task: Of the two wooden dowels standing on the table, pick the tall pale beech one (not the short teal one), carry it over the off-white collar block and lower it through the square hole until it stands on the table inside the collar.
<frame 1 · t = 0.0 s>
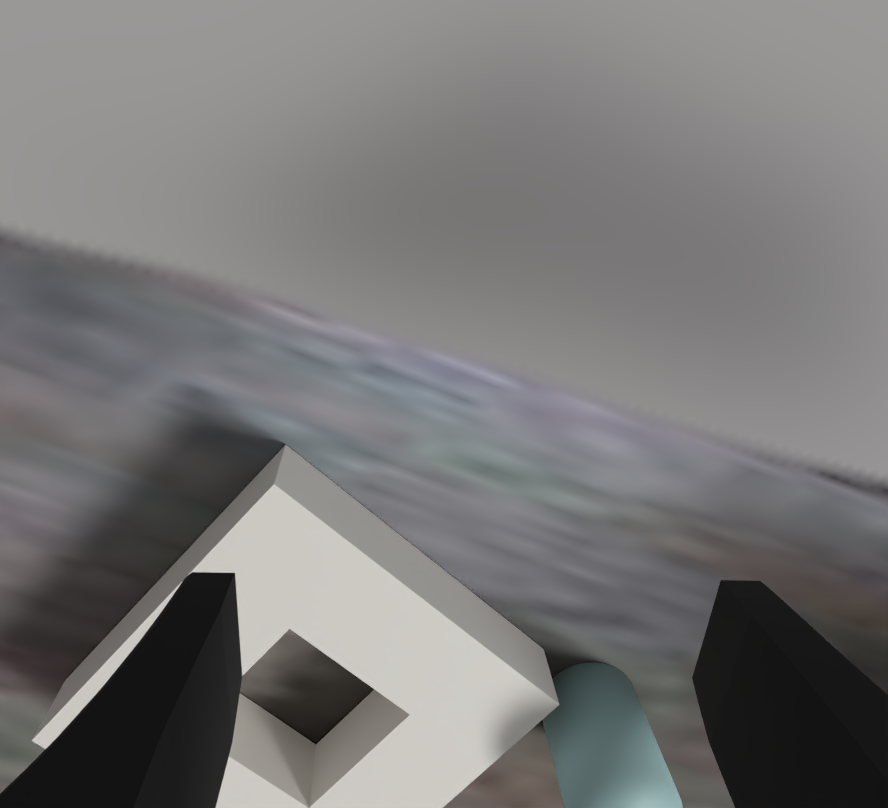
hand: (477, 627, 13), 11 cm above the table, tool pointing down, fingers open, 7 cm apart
collar block: (307, 664, 25), on the table
short teal pin: (587, 702, 26), on the table
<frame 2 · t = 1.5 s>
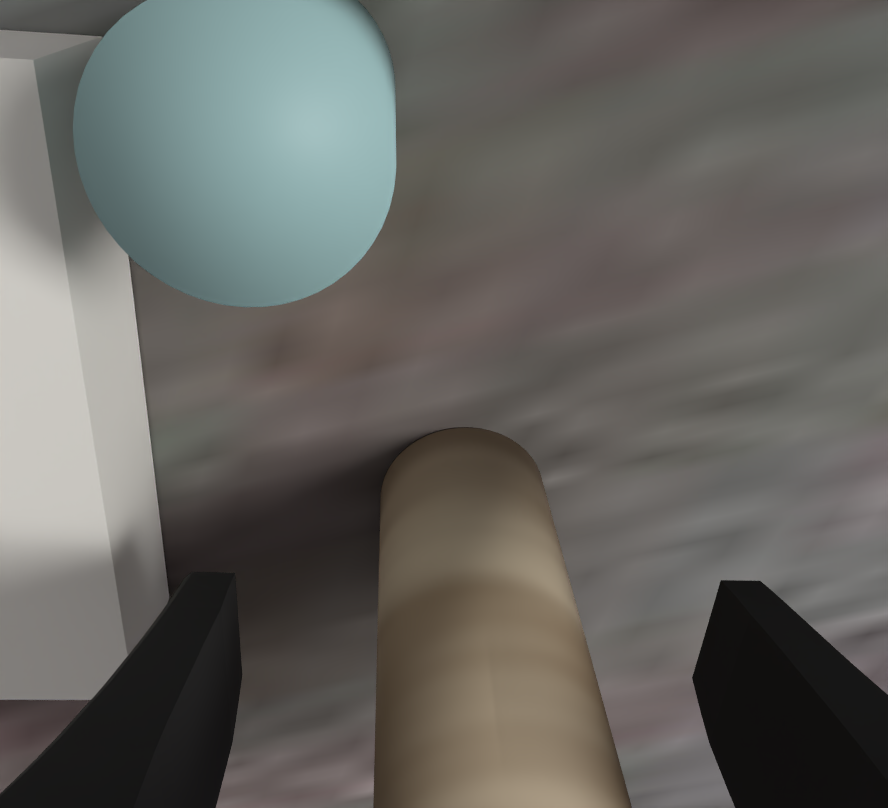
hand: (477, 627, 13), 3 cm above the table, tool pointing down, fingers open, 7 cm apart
short teal pin: (289, 86, 12), on the table
long beech pin: (462, 497, 15), on the table
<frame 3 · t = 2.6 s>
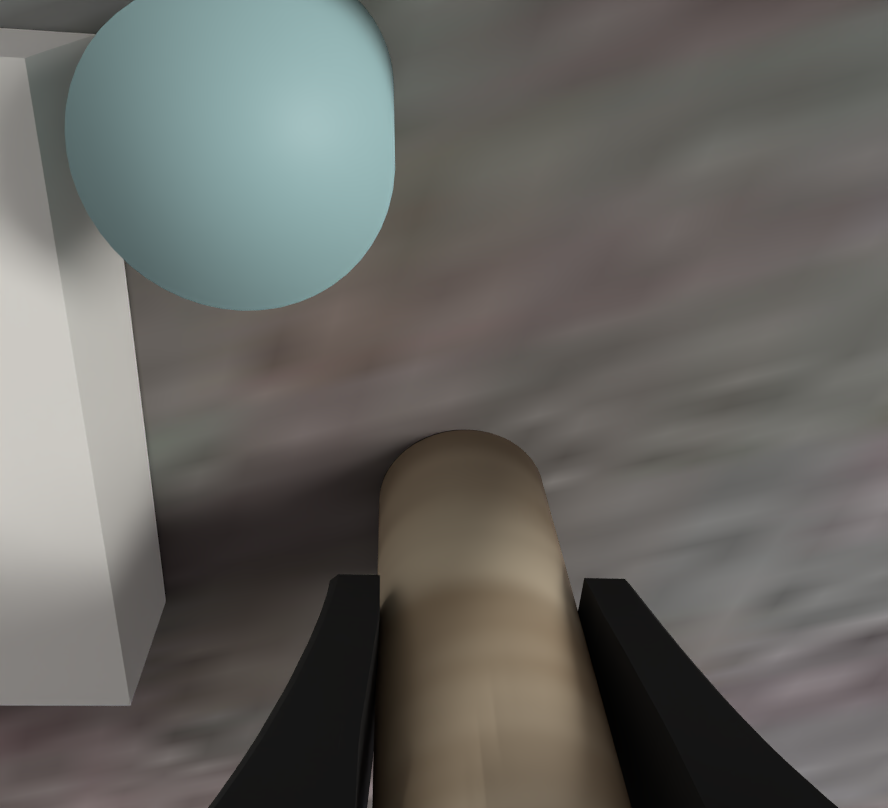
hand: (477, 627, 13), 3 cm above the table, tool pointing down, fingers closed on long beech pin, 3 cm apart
short teal pin: (286, 84, 12), on the table
long beech pin: (461, 500, 15), on the table, touching gripper
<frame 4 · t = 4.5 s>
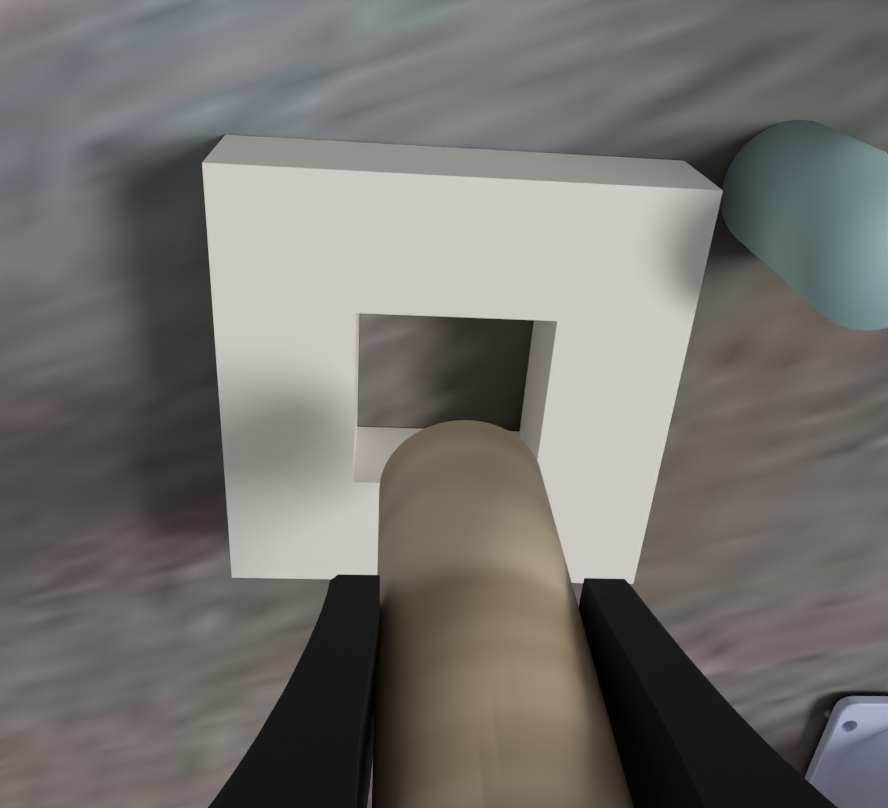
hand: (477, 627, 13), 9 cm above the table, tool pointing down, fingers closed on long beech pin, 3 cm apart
collar block: (444, 355, 21), on the table
short teal pin: (786, 188, 19), on the table
long beech pin: (461, 490, 15), point 6 cm above the table, touching gripper
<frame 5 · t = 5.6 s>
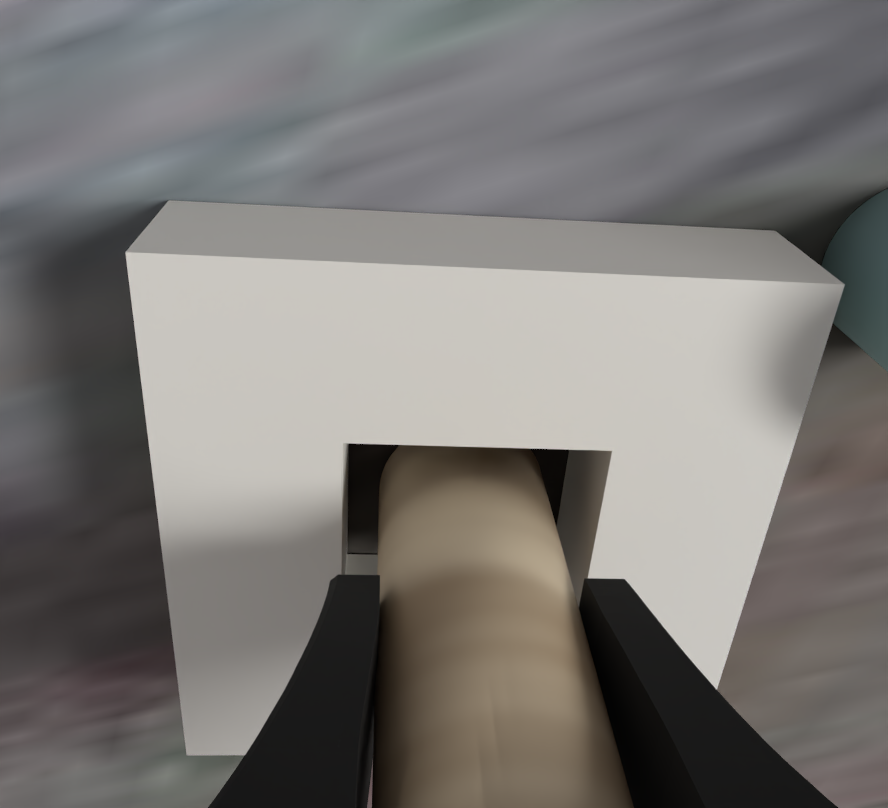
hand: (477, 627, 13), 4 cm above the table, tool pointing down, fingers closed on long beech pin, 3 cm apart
collar block: (457, 470, 16), on the table
long beech pin: (461, 490, 15), point 1 cm above the table, touching gripper
when the fingers open (4 cm above the table, at t = 6.3 s): long beech pin stays where it is, resting in collar block.
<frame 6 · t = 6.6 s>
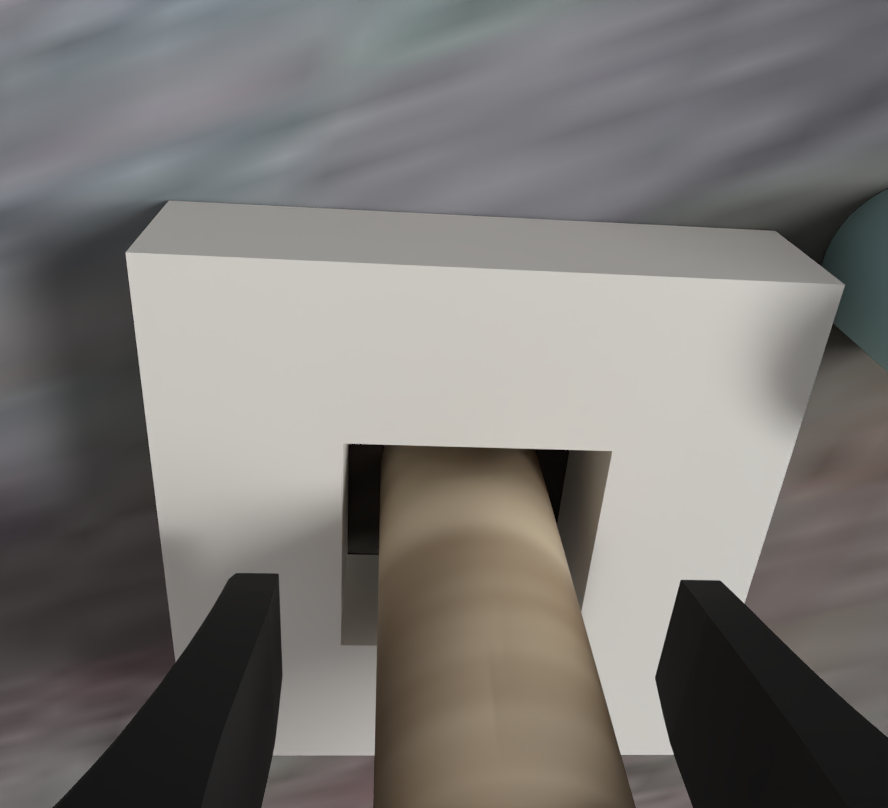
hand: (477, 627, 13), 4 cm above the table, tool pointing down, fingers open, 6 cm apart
collar block: (458, 470, 16), on the table
long beech pin: (459, 465, 16), resting in collar block
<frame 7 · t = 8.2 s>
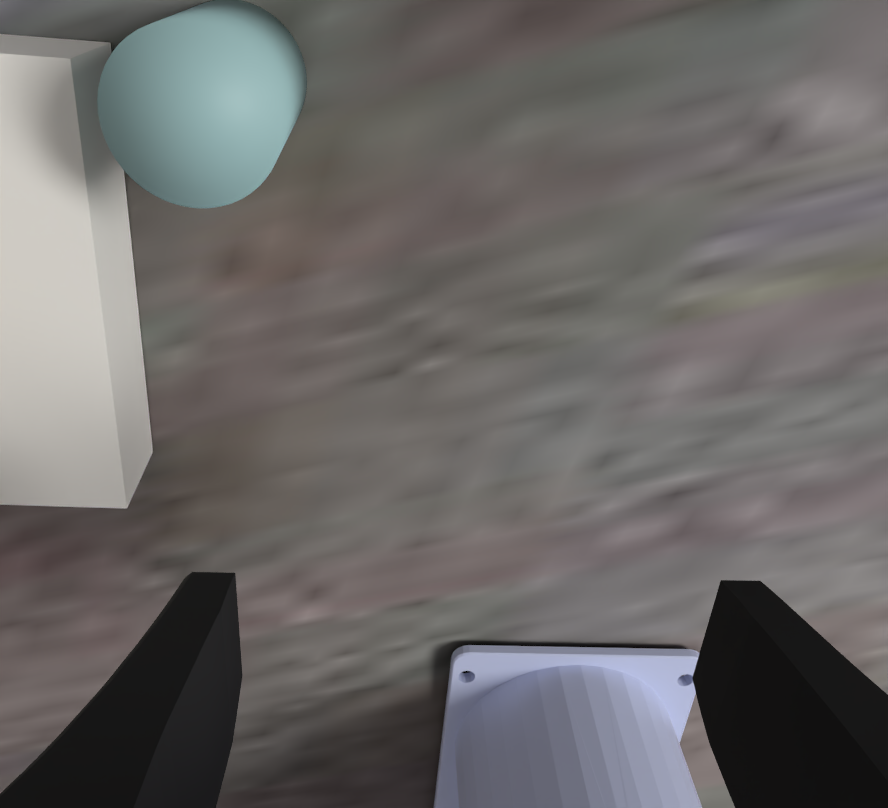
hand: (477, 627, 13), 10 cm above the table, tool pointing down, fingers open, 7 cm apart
short teal pin: (235, 77, 18), on the table
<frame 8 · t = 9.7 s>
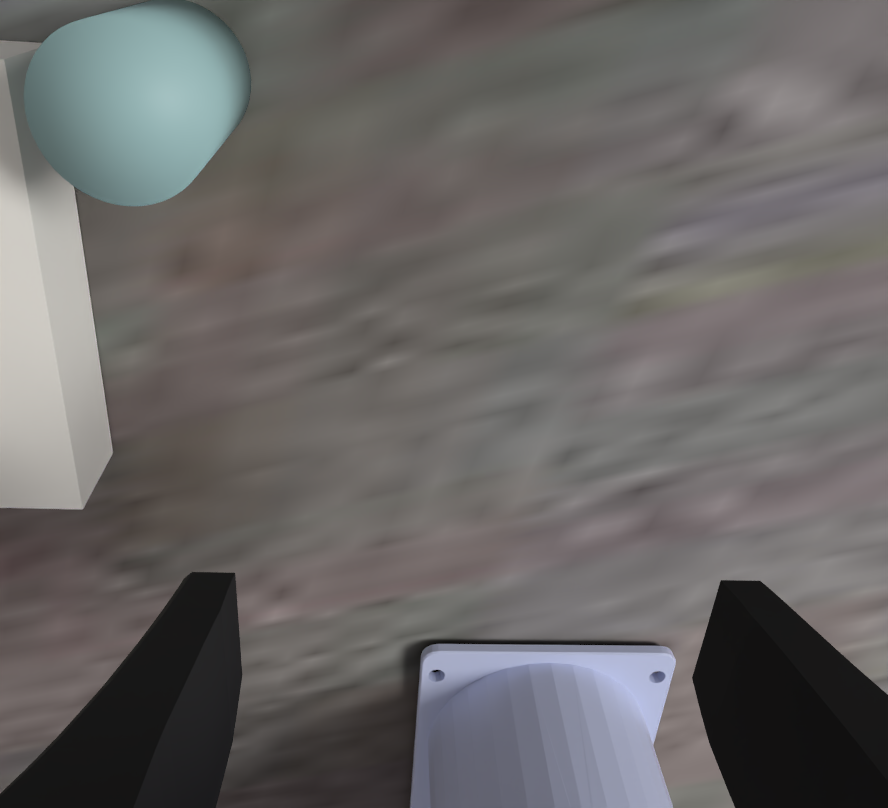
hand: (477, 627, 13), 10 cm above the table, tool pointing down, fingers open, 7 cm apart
short teal pin: (179, 76, 18), on the table
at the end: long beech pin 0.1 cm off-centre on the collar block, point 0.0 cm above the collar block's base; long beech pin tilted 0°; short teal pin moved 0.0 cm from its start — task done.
